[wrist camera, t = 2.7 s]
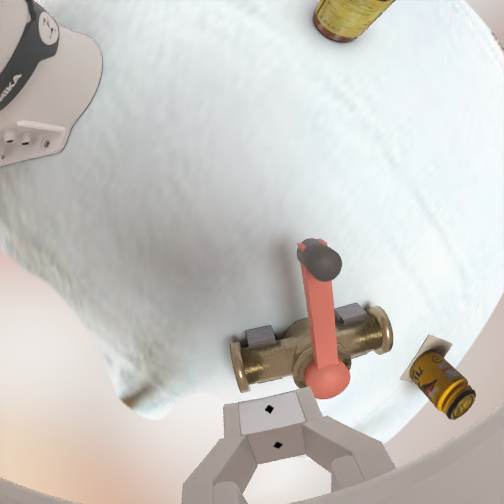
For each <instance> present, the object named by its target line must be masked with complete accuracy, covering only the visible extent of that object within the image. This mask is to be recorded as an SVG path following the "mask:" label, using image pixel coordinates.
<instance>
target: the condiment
mask: <svg viewBox="0 0 504 504" xmlns="http://www.w3.org/2000/svg"><path fill="white" fill-rule="evenodd" d="M451 346H452V344H451V343H449V342H446V341H444V340H441V339H439V338H436V337H434V336H431V335H429V336H428V337H427V339H426V341H425V342H424V344H423V346H422V347H421V349H420V351H419V352H418V353H417V355H416V356H415V358H414V359H413V361H412V362H411V364H410V365H409V367H408V368H407V369H406V371H405V373H404V374H403V375H402V377H401V380H406V381H412V382H415V384H416V385H417V386H418V387H419V388H420V389H421V390H422V392H423V393H424V394H425V395H426V396H427V397H428V399H429V400H430V401H431V402H432V403H433V404H434V406H435V407H436V408H437V409H438V410H439V411H443V413H445V414H446V415H447V417H448V418H449V419H454V420H455V419H457V418H459V417H461V416H462V415H463V414H464V413H466V412H467V410H468V409H469V408H470V407H471V406H472V404H473V403H474V401H475V397H476V394H475V391H474V390H473V389H472V388H471V386H469V385H468V382H467V380H466V379H465V378H464V377H463V376H462V375H461V374H460V373H459V372H458V371H457V370H456V369H455V368H454V367H452V366H451V365H450V364H449V363H448V362H447V361H446V360H445V359H444V357H445V355H446V353H447V352H448V351H449V349H450V348H451ZM427 349H428V350H427Z"/></svg>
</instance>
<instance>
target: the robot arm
mask: <svg viewBox="0 0 504 504" xmlns="http://www.w3.org/2000/svg"><path fill="white" fill-rule="evenodd" d="M101 72H102V55H101V51H100V48H99V46H98V45H97V43H96V42H95V41H94V40H93V39H92V38H90V37H89V36H86V35H83V34H80V33H77V32H74V31H72V30H69V29H67V28H65V27H63V26H61V25H59V24H58V23H57V22H56V21H55V20H54V19H53V17H52V16H51V15H50V14H49V13H48V12H47V11H46V10H45V9H44V8H42V7H41V6H40V5H39V4H37V3H36V2H35V1H33V0H0V167H2V166H5V165H9V164H13V163H17V162H21V161H25V160H29V159H33V158H37V157H42V156H47V155H51V154H56V153H59V152H60V151H61V150H62V149H63V148H64V146H65V144H66V142H67V139H68V136H69V133H70V131H71V128H72V126H73V125H74V123H75V122H76V120H77V119H78V118H79V117H80V115H81V114H82V113H83V112H84V110H85V109H86V108H87V106H88V104H89V103H90V101H91V99H92V98H93V96H94V94H95V92H96V89H97V87H98V84H99V81H100V77H101ZM48 142H49V146H48V147H47V143H48ZM223 412H224V439H220V440H219V441H218V442H217V444H216V445H215V446H214V447H213V449H212V450H211V451H210V452H209V454H208V455H207V456H206V457H205V458H204V460H203V461H202V462H201V463H200V464H199V466H198V467H197V468H196V469H195V470H194V472H193V473H192V474H191V475H190V476H189V478H188V479H187V480H186V481H185V483H183V490H182V491H183V492H182V504H248V503H247V502H246V500H245V498H244V497H243V495H242V494H243V492H244V490H245V488H246V487H247V485H248V483H249V481H250V479H251V477H252V475H253V473H254V472H255V470H256V468H257V464H262V463H267V462H271V461H276V460H280V459H281V458H282V459H285V458H290V457H295V456H299V455H304V454H306V455H307V456H308V457H310V458H311V459H312V460H314V461H315V462H317V463H318V464H319V465H321V466H322V467H323V468H325V469H326V470H328V471H329V472H330V473H332V483H331V485H332V487H331V493H329V494H325V495H322V496H318V497H315V498H311V499H307V500H303V501H298V502H294V503H290V504H504V402H503V403H502V404H501V405H500V406H498V407H497V408H496V409H495V410H493V411H492V412H491V413H489V414H488V415H487V416H485V417H484V418H482V419H481V420H480V421H478V422H477V423H475V424H474V425H473V426H471V427H470V428H468V429H467V430H465V431H464V432H462V433H461V434H459V435H457V436H456V437H454V438H453V439H451V440H449V441H448V442H446V443H444V444H443V445H441V446H439V447H437V448H436V449H434V450H432V451H431V452H428V453H427V454H425V455H423V456H421V457H419V458H417V459H415V460H413V461H411V462H409V463H407V464H405V465H403V466H401V467H398V468H396V467H395V465H394V463H393V462H392V460H391V458H390V456H389V455H388V453H387V451H386V450H385V448H384V446H383V444H382V442H380V441H378V440H376V439H374V438H372V437H369V436H367V435H365V434H363V433H361V432H359V431H356V430H354V429H352V428H350V427H348V426H346V425H344V424H342V423H340V422H338V421H336V420H334V419H332V418H330V417H328V416H325V417H323V416H322V413H321V411H320V409H319V406H318V404H317V402H316V399H315V397H314V395H313V392H312V390H311V388H310V387H309V386H308V387H305V388H301V389H297V390H294V391H290V392H286V393H282V394H278V395H274V396H269V397H265V398H260V399H254V400H249V401H243V402H239V403H232V404H224V407H223ZM0 504H81V503H77V502H72V501H68V500H64V499H61V498H57V497H54V496H50V495H47V494H44V493H40V492H37V491H34V490H31V489H28V488H26V487H23V486H20V485H18V484H15V483H13V482H10V481H8V480H6V479H3V478H1V477H0Z"/></svg>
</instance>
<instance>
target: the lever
mask: <svg viewBox="0 0 504 504" xmlns="http://www.w3.org/2000/svg"><path fill="white" fill-rule="evenodd" d="M297 257H298V260H299V261H300V262H301V269H302V275H303V282H304V289H305V296H306V303H307V311H308V318H309V326H310V334H311V342H312V351H313V359H314V360H312V361H311V362H310V363H309V364H308V365H307V367H306V368H305V370H304V375H303V377H304V381H305V383H306V386H307V387H308V386H309V387H310V388H311V390H312V392H313V395H314V397H315V398H317V399H329V398H332V397H335V396H337V395H338V394H340V393H341V392H342V391H344V390H345V388H346V387H347V386H348V384H349V382H350V372H349V370H348V369H347V367H346V366H345V364H344V363H343V361H342V360H341V358H339V357H338V356H337V340H336V326H335V314H334V303H333V293H332V283H331V280H333V279H334V278H335V277H336V276H337V275H338V274H339V273H340V270H341V267H342V261H341V258H340V256H339V254H338V253H337V252H335V251H334V250H332V249H331V248H329V247H328V246H327V242H325V241H323V240H322V239H313V238H310V239H306V240H304V241H303V242H302V243H298V249H297Z"/></svg>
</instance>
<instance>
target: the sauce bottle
mask: <svg viewBox="0 0 504 504" xmlns="http://www.w3.org/2000/svg"><path fill="white" fill-rule="evenodd" d="M394 1H395V0H320V2H319V4H318V5H317V7H316V12H315V15H314V22H315V24H316V26H317V28H318V29H319V30H320V31H321V32H322V33H323V34H324V35H326V36H327V37H329V38H330V39H333V40H336V41H341V42H348V41H351V40H353V39H355V38H357V37H358V36H360V35H361V34H362V33H363V32H364V31H365V30H366V29H367V28H368V27H369V26H370V25H371V24H372V23H373V22H374V21H375V20H376V19H377V18H378V17H379V16H380V15H381V14H382V13H383V12H384V11H385V10H386V9H387V8H388V7H389V6H390V5H391V4H392V3H393V2H394Z"/></svg>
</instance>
